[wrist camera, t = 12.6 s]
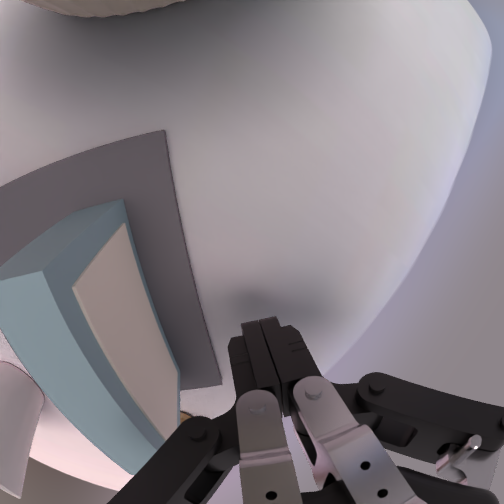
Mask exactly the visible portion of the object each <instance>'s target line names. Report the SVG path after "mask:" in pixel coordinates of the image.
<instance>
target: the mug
mask: <svg viewBox="0 0 504 504" xmlns="http://www.w3.org/2000/svg"><path fill="white" fill-rule="evenodd" d="M43 403H44V396H43V393H42V391H41V390H40V388H39V387H38V386H37V384H36V383H35V382H34V381H33V380H32V379H31V378H30V377H29V376H28V375H26V374H25V373H24V372H23V371H21V370H20V369H18V368H17V367H15V366H13V365H11V364H9V363H6V362H0V489H2V490H4V491H6V492H7V493H9V494H11V495H13V496H15V497H17V498H21V493H22V488H23V483H24V477H25V471H26V467H27V462H28V457H29V453H30V449H31V445H32V441H33V437H34V433H35V430H36V426H37V423H38V420H39V416H40V412H41V409H42V406H43Z"/></svg>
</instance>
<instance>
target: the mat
mask: <svg viewBox="0 0 504 504" xmlns="http://www.w3.org/2000/svg"><path fill="white" fill-rule="evenodd" d="M119 199H123V200H124V204H125V209H126V213H127V217H128V221H129V225H130V229H131V233H132V236H133V240H134V244H135V247H136V251H137V254H138V258H139V261H140V264H141V268H142V271H143V274H144V277H145V280H146V283H147V286H148V289H149V292H150V295H151V298H152V301H153V304H154V307H155V310H156V312H157V315H158V318H159V321H160V323H161V326H162V328H163V331H164V334H165V336H166V339H167V341H168V344H169V346H170V349H171V351H172V353H173V356H174V358H175V361H176V363H177V365H178V367H179V370H180V390H188V389H196V388H203V387H210V386H217V385H222V379H221V375H220V372H219V369H218V366H217V362H216V359H215V356H214V352H213V349H212V346H211V342H210V339H209V335H208V332H207V328H206V324H205V321H204V317H203V313H202V310H201V306H200V302H199V298H198V294H197V290H196V286H195V282H194V278H193V274H192V270H191V265H190V261H189V257H188V252H187V248H186V243H185V239H184V234H183V230H182V225H181V220H180V215H179V210H178V205H177V200H176V194H175V189H174V183H173V178H172V172H171V166H170V160H169V154H168V147H167V141H166V134H165V130H160V131H156V132H151V133H147V134H143V135H139V136H135V137H131V138H127V139H124V140H120V141H116V142H113V143H110V144H106V145H103V146H100V147H97V148H93V149H90V150H87V151H84V152H81V153H79V154H76V155H73V156H70V157H67V158H65V159H62V160H60V161H57V162H54V163H52V164H49V165H47V166H45V167H42V168H40V169H37V170H35V171H33V172H31V173H28V174H26V175H24V176H22V177H20V178H18V179H16V180H13V181H11V182H9V183H7V184H5V185H3V186H2V187H0V267H1V266H2V265H3V264H4V263H5V262H7V261H8V260H9V259H10V258H11V257H13V256H14V255H15V254H16V253H18V252H19V251H20V250H21V249H23V248H24V247H25V246H26V245H28V244H29V243H30V242H32V241H33V240H34V239H36V238H37V237H38V236H40V235H41V234H42V233H44V232H45V231H47V230H48V229H49V228H51V227H52V226H54V225H55V224H56V223H58V222H59V221H61V220H62V219H64V218H65V217H67V216H68V215H70V214H71V213H73V212H75V211H78V210H82V209H85V208H89V207H92V206H96V205H100V204H104V203H107V202H111V201H115V200H119ZM0 329H1V328H0ZM1 331H2V330H1ZM4 336H5V335H4ZM5 338H6V337H5ZM7 341H8V340H7ZM8 343H9V342H8ZM10 346H11V345H10ZM12 349H13V348H12ZM13 351H14V350H13ZM14 352H15V351H14ZM15 354H16V353H15ZM17 357H18V356H17ZM19 360H20V359H19ZM21 363H22V362H21ZM22 364H23V363H22ZM24 367H25V366H24ZM26 370H27V369H26ZM29 374H30V373H29ZM31 377H32V376H31ZM32 378H33V377H32ZM34 381H35V380H34ZM35 382H36V381H35ZM38 386H39V385H38ZM39 387H40V386H39ZM41 390H42V389H41ZM42 391H43V390H42Z"/></svg>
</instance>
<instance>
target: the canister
mask: <svg viewBox="0 0 504 504" xmlns="http://www.w3.org/2000/svg"><path fill="white" fill-rule="evenodd" d="M21 1H24V2H27V3H29V4H32V5H35V6H38V7H40V8H43V9H46V10H50V11H53V12H56V13H59V14H63V15H70V16H72V15H76V16H79V17H93V16H97V17H109V16H112V15H122V16H124V15H127V14H129V13H133V12H145V11H147V10H150V9H153V8H158V7H166V6H167V5H169V4H172V3H175V2H179V1H181V2H182V1H186V0H21Z"/></svg>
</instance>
